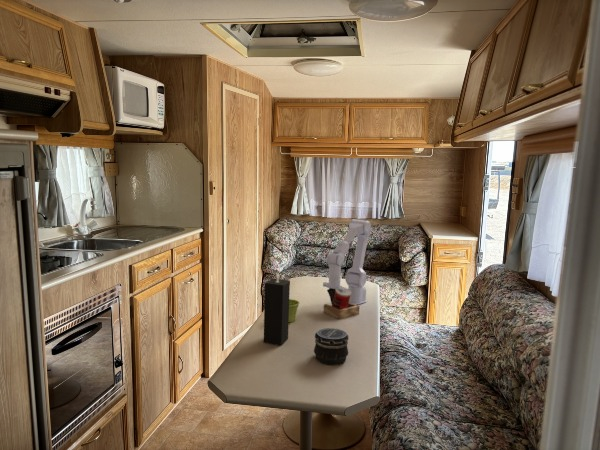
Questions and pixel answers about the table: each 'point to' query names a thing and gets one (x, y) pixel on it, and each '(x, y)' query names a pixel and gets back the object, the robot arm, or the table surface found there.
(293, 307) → the plant pot
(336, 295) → the canned food
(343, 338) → the container
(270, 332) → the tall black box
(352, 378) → the table surface
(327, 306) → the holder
